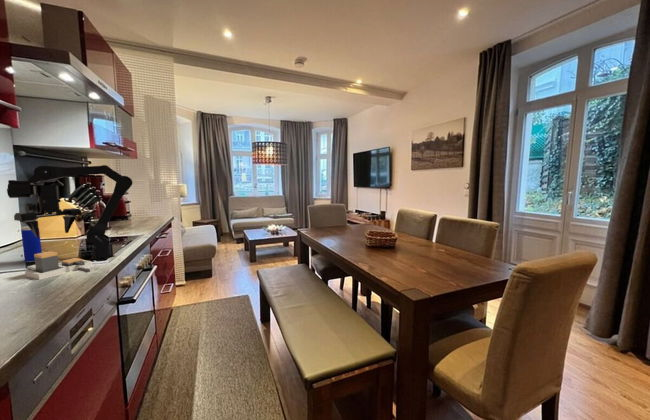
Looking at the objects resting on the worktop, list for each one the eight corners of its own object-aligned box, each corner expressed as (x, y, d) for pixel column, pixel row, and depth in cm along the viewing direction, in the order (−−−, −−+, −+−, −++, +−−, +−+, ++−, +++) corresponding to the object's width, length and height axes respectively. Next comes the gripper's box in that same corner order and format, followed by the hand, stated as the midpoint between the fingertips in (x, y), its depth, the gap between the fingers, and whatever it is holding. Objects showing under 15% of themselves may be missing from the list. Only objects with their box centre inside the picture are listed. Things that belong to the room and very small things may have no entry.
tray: (57, 262, 113) (56, 259, 113) (69, 265, 110) (69, 262, 110) (27, 269, 105) (27, 266, 105) (40, 272, 102) (40, 269, 102)
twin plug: (76, 266, 109) (75, 257, 109) (95, 270, 105) (94, 261, 105) (62, 269, 105) (61, 260, 105) (81, 273, 101) (80, 264, 101)
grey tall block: (52, 271, 102) (50, 251, 101) (59, 273, 101) (57, 252, 100) (36, 275, 98) (34, 254, 97) (43, 277, 97) (41, 255, 96)
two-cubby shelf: (78, 263, 112) (78, 258, 112) (92, 266, 109) (91, 261, 109) (25, 276, 97) (24, 271, 97) (39, 280, 94) (38, 274, 94)
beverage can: (46, 259, 117) (42, 225, 115) (32, 263, 112) (27, 228, 110) (35, 258, 118) (31, 225, 116) (21, 262, 113) (16, 227, 111)
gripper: (65, 195, 119) (69, 229, 121) (4, 197, 102) (9, 237, 103) (80, 196, 115) (84, 231, 117) (19, 199, 98) (24, 240, 100)
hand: (52, 235), depth 109 cm, fingers open, 9 cm apart
